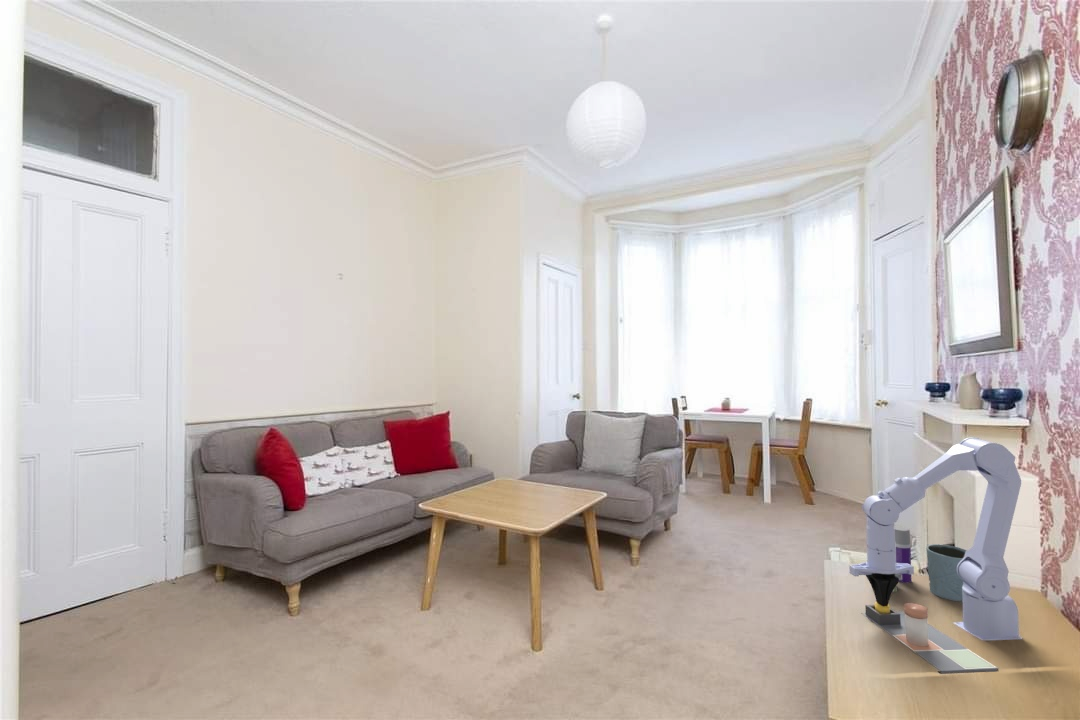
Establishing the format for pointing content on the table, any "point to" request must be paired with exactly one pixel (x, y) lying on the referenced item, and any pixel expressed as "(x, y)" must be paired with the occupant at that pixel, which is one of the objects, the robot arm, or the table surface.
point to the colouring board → (941, 650)
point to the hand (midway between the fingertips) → (882, 604)
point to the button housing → (883, 616)
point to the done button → (882, 608)
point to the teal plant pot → (945, 571)
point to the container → (903, 550)
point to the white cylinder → (916, 624)
